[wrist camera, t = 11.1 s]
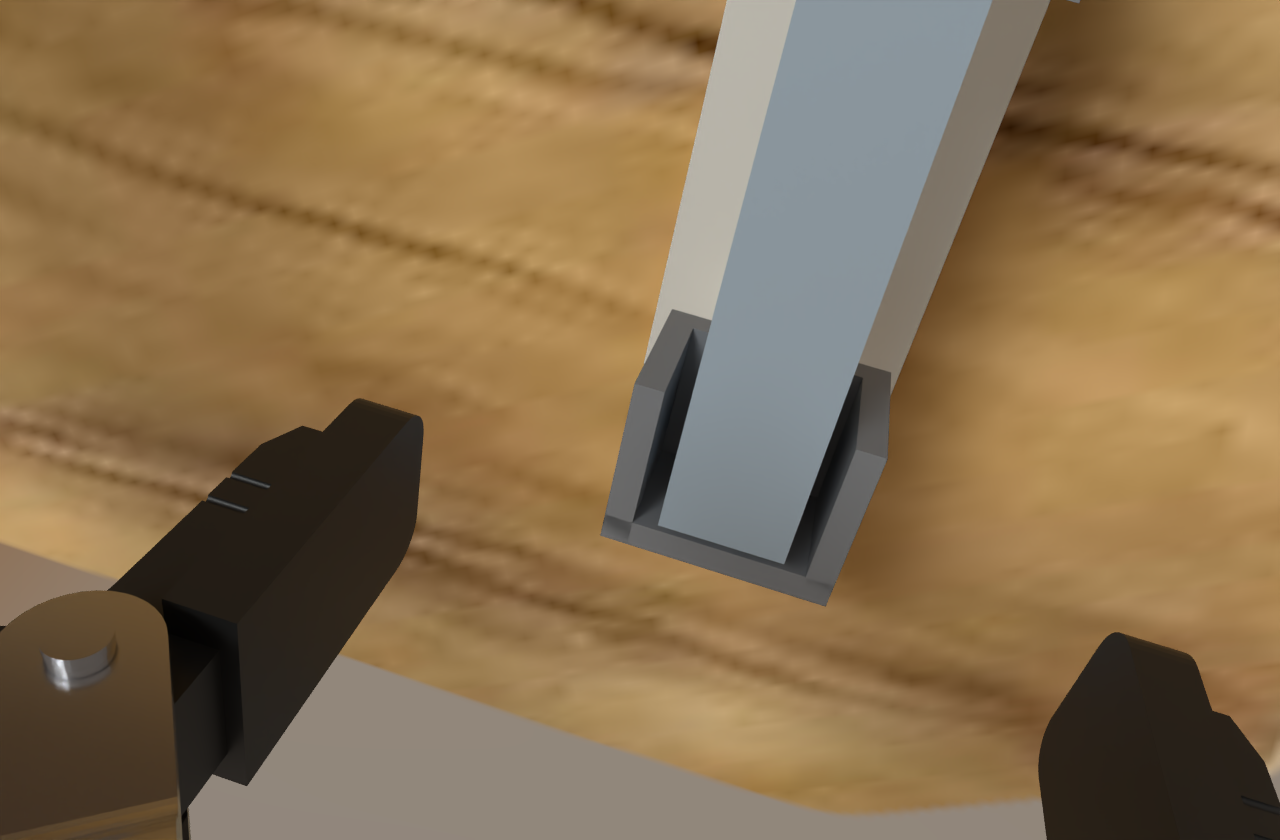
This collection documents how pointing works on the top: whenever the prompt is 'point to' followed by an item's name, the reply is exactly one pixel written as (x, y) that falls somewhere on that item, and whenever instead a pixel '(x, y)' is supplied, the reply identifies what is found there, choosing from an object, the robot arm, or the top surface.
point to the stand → (697, 274)
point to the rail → (813, 256)
